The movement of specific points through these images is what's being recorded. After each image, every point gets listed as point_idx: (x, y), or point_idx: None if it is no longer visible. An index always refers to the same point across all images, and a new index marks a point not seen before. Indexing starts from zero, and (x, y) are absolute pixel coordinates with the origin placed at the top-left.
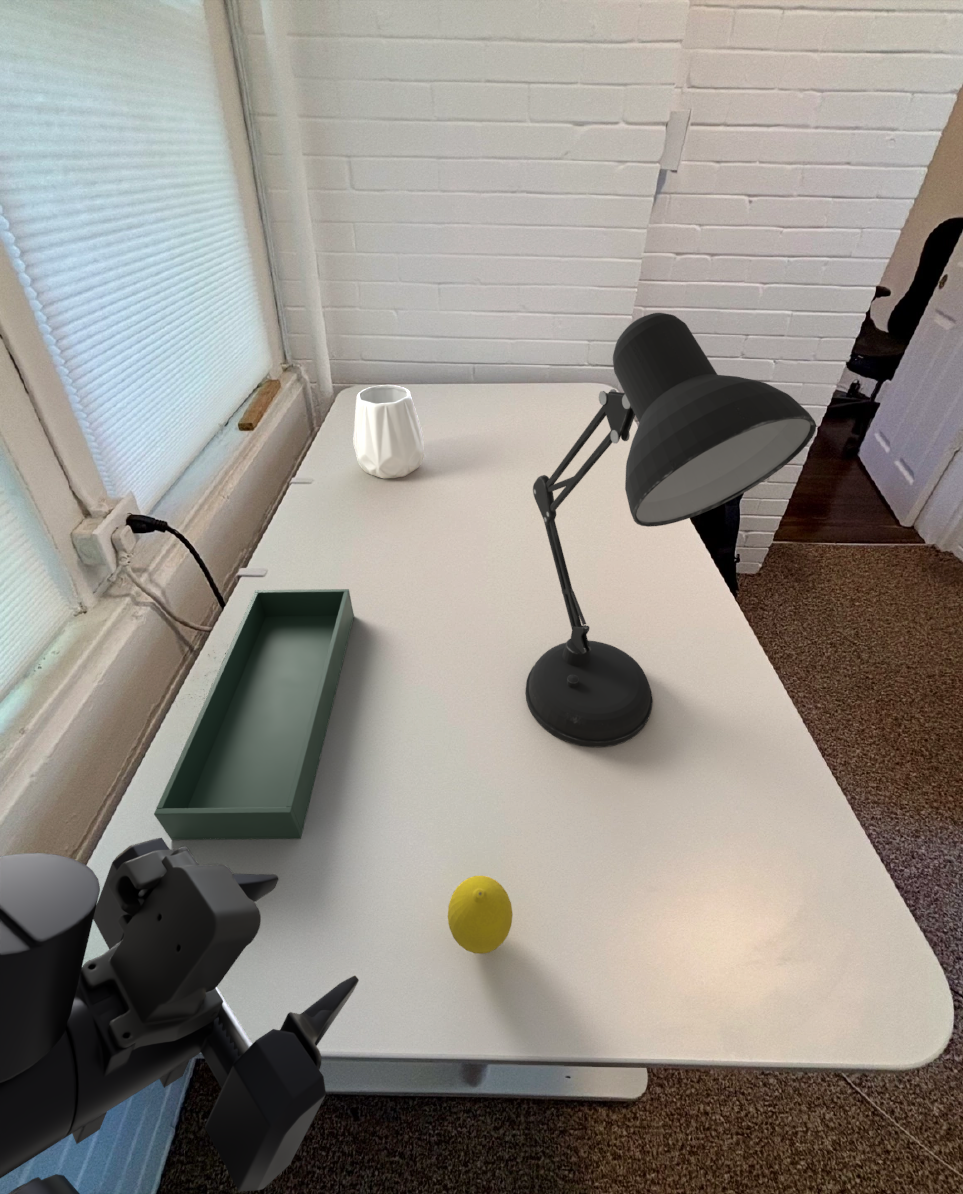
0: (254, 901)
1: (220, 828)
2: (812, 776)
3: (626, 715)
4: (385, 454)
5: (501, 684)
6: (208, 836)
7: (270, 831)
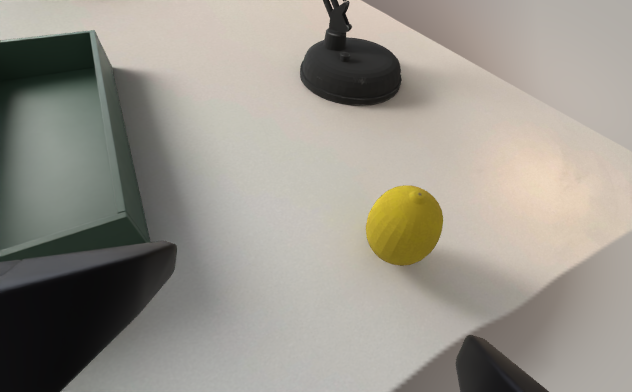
0: (136, 314)
1: None
2: (507, 86)
3: (394, 70)
4: None
5: (281, 84)
6: None
7: None
